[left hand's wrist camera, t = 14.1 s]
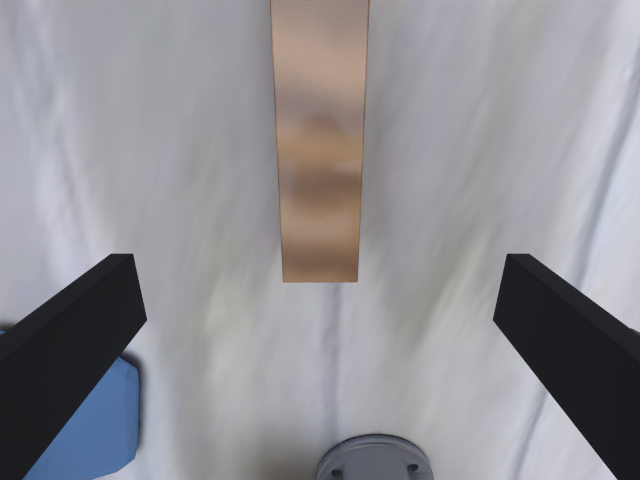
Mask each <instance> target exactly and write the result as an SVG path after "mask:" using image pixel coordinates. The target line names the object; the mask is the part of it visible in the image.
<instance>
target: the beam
mask: <svg viewBox="0 0 640 480" xmlns="http://www.w3.org/2000/svg"><path fill="white" fill-rule="evenodd" d="M270 12H271V34H272V55H273V77H274V98H275V120H276V142H277V163H278V185H279V206H280V228H281V249H282V271H283V282H357V281H358V259H359V235H360V212H361V188H362V165H363V141H364V117H365V94H366V70H367V47H368V23H369V0H270Z"/></svg>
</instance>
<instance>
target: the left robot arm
mask: <svg viewBox="0 0 640 480" xmlns="http://www.w3.org/2000/svg"><path fill="white" fill-rule="evenodd" d="M146 321H147V317H146V312H145V308H144V303H143V298H142V294H141V289H140V284H139V280H138V275H137V271H136V266H135V261H134V257H133V254H110V255H109V256H107V257H106V258H105V259H103V260H102V261H101V262H99V263H98V264H97V265H95V266H94V267H93V268H91V269H90V270H88V271H87V272H86V273H84V274H83V275H82V276H80V277H79V278H78V279H76V280H75V281H74V282H72V283H71V284H70V285H68V286H67V287H66V288H64V289H63V290H61V291H60V292H59V293H57V294H56V295H55V296H53V297H52V298H51V299H49V300H48V301H47V302H45V303H44V304H43V305H41V306H40V307H39V308H37V309H36V310H34V311H33V312H32V313H30V314H29V315H28V316H26V317H25V318H24V319H22V320H21V321H20V322H18V323H17V324H16V325H14V326H13V327H12V328H10V329H9V330H8V331H6V332H4V333H2V334H0V480H23V478H24V477H25V476H26V475H27V473H28V472H29V471H30V469H31V468H32V467H33V466H34V464H35V463H36V462H37V461H38V459H39V458H40V457H41V455H42V454H43V453H44V452H45V450H46V449H47V448H48V446H49V445H50V444H51V443H52V441H53V440H54V439H55V437H56V436H57V435H58V434H59V432H60V431H61V430H62V429H63V427H64V426H65V425H66V423H67V422H68V421H69V420H70V418H71V417H72V416H73V414H74V413H75V412H76V411H77V409H78V408H79V407H80V405H81V404H82V403H83V402H84V400H85V399H86V398H87V397H88V395H89V394H90V393H91V391H92V390H93V389H94V388H95V386H96V385H97V384H98V382H99V381H100V380H101V379H102V377H103V376H104V375H105V373H106V372H107V371H108V370H109V368H110V367H111V366H112V365H113V363H114V362H115V361H116V359H117V358H118V357H119V356H120V354H121V353H122V352H123V350H124V349H125V348H126V347H127V345H128V344H129V343H130V341H131V340H132V339H133V338H134V336H135V335H136V334H137V333H138V331H139V330H140V329H141V327H142V326H143V325H144V324H145V322H146ZM493 321H494V322H495V324H496V325H497V326H498V327H499V329H500V330H501V331H502V333H503V334H504V335H505V336H506V338H507V339H508V340H509V341H510V343H511V344H512V345H513V347H514V348H515V349H516V350H517V352H518V353H519V354H520V356H521V357H522V358H523V359H524V361H525V362H526V363H527V365H528V366H529V367H530V368H531V370H532V371H533V372H534V373H535V375H536V376H537V377H538V379H539V380H540V381H541V382H542V384H543V385H544V386H545V388H546V389H547V390H548V391H549V393H550V394H551V395H552V397H553V398H554V399H555V400H556V402H557V403H558V404H559V405H560V407H561V408H562V409H563V411H564V412H565V413H566V414H567V416H568V417H569V418H570V420H571V421H572V422H573V423H574V425H575V426H576V427H577V429H578V430H579V431H580V432H581V434H582V435H583V436H584V437H585V439H586V440H587V441H588V443H589V444H590V445H591V446H592V448H593V449H594V450H595V452H596V453H597V454H598V455H599V457H600V458H601V459H602V461H603V462H604V463H605V464H606V466H607V467H608V468H609V469H610V471H611V472H612V473H613V475H614V476H615V477H616V478H617V480H640V332H638V331H636V330H634V329H632V328H628V327H627V326H626V325H624V324H623V323H622V322H620V321H619V320H618V319H616V318H615V317H614V316H612V315H611V314H610V313H608V312H607V311H605V310H604V309H603V308H601V307H600V306H599V305H597V304H596V303H595V302H593V301H592V300H591V299H589V298H588V297H587V296H585V295H584V294H583V293H581V292H580V291H579V290H577V289H576V288H574V287H573V286H572V285H570V284H569V283H568V282H566V281H565V280H564V279H562V278H561V277H560V276H558V275H557V274H556V273H554V272H553V271H552V270H550V269H549V268H547V267H546V266H545V265H543V264H542V263H541V262H539V261H538V260H537V259H535V258H534V257H533V256H531V255H530V254H507V257H506V261H505V266H504V271H503V275H502V280H501V284H500V289H499V294H498V298H497V303H496V308H495V312H494V317H493ZM317 480H434V478H433V474H432V470H431V467H430V464H429V461H428V459H427V457H426V456H425V454H424V453H423V452H422V451H421V450H420V449H419V448H418V447H416V446H415V445H413V444H411V443H410V442H408V441H405V440H403V439H400V438H396V437H391V436H384V435H370V436H362V437H358V438H354V439H351V440H348V441H346V442H343V443H341V444H339V445H338V446H336V447H334V448H333V449H332V450H331V451H329V452H328V453H327V454H326V455H325V457H324V458H323V459H322V461H321V463H320V464H319V467H318V471H317Z"/></svg>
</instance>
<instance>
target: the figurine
mask: <svg viewBox="0 0 640 480" xmlns="http://www.w3.org/2000/svg"><path fill="white" fill-rule="evenodd" d="M2 333H4V331H0V334H2ZM138 414H139V378H138V371H137V369H136V368H135V367H133V366H132V365H130V364H129V363H127V362H126V361H124V360H123V359H121V358H120V357H118V358H117V359H116V361H115V362H114V363H113V365H112V366H111V367H110V368H109V370H108V371H107V372H106V373H105V375H104V376H103V377H102V379H101V380H100V381H99V382H98V384H97V385H96V386H95V388H94V389H93V390H92V391H91V393H90V394H89V395H88V397H87V398H86V399H85V400H84V402H83V403H82V404H81V405H80V407H79V408H78V409H77V411H76V412H75V413H74V414H73V416H72V417H71V418H70V420H69V421H68V422H67V423H66V425H65V426H64V427H63V429H62V430H61V431H60V432H59V434H58V435H57V436H56V437H55V439H54V440H53V441H52V443H51V444H50V445H49V446H48V448H47V449H46V450H45V452H44V453H43V454H42V455H41V457H40V458H39V459H38V461H37V462H36V463H35V464H34V466H33V467H32V468H31V469H30V471H29V472H28V473H27V475H26V476H25V477H24V478H23V480H92V479H95V478H98V477H102V476H105V475H108V474H112V473H115V472H117V471H119V470H120V469H121V468H123V467H124V466H126V465H127V464H128V463H129V462H131V461H132V460H133V459H134V458H135V455H136V449H137V443H138Z"/></svg>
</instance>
